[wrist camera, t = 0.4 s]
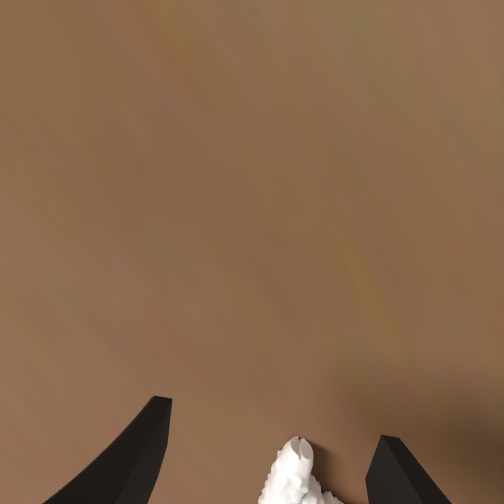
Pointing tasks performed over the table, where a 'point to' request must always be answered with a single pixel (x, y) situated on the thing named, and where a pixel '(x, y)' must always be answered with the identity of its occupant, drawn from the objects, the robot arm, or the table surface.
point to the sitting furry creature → (294, 478)
